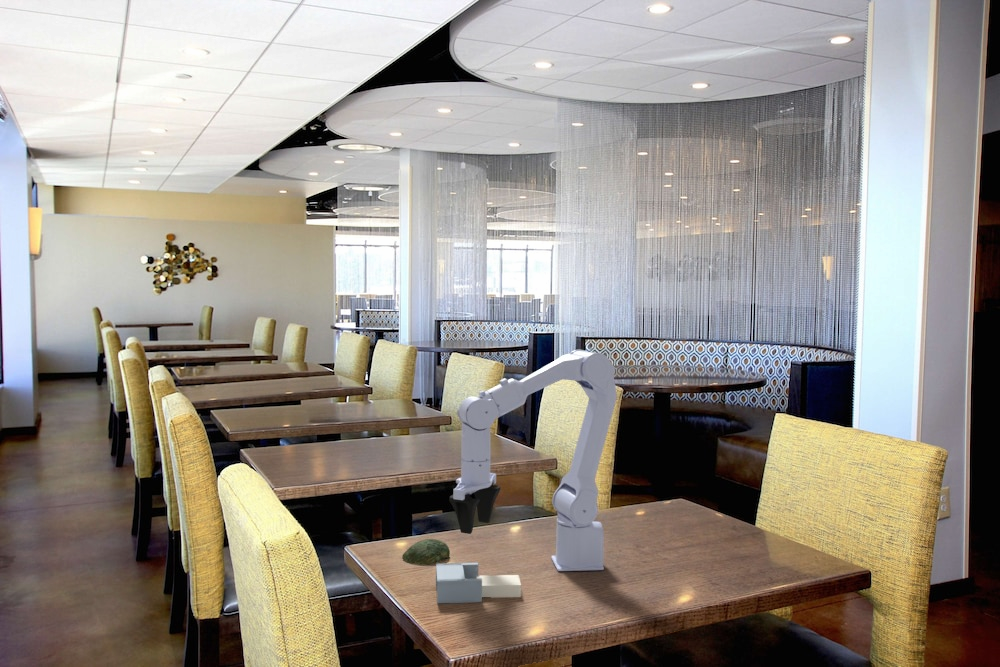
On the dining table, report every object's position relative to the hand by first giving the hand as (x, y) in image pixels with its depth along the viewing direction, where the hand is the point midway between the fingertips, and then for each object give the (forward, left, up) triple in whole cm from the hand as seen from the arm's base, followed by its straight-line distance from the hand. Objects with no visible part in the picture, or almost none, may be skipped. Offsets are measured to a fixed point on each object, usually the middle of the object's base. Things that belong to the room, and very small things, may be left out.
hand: (475, 527), depth 152 cm
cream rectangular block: (-4, +8, -10) cm, 14 cm away
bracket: (+4, +8, -10) cm, 13 cm away
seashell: (+9, -12, -10) cm, 18 cm away
